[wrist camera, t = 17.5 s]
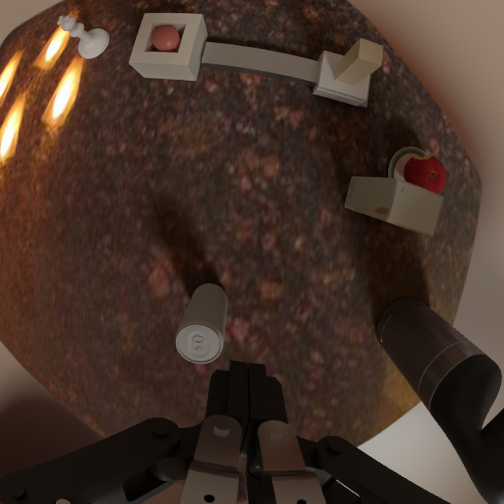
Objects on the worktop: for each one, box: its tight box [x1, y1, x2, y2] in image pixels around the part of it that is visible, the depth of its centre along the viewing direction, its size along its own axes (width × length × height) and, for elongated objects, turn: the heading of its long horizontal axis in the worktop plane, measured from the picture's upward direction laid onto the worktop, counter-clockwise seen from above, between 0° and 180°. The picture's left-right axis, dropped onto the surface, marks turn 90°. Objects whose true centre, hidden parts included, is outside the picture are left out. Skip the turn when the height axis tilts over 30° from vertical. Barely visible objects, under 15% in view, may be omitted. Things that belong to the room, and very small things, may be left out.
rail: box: [201, 42, 371, 109], centre depth 33 cm, size 21×5×2 cm, turn 80°
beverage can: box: [176, 283, 228, 364], centre depth 35 cm, size 5×5×12 cm
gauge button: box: [152, 26, 181, 53], centre depth 29 cm, size 3×3×5 cm
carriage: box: [313, 38, 383, 106], centre depth 28 cm, size 6×5×11 cm
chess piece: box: [57, 16, 109, 59], centre depth 27 cm, size 5×5×10 cm
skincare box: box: [344, 176, 444, 236], centre depth 32 cm, size 6×4×12 cm
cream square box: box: [129, 13, 208, 81], centre depth 30 cm, size 7×7×6 cm
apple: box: [388, 147, 446, 194], centre depth 34 cm, size 8×8×6 cm
